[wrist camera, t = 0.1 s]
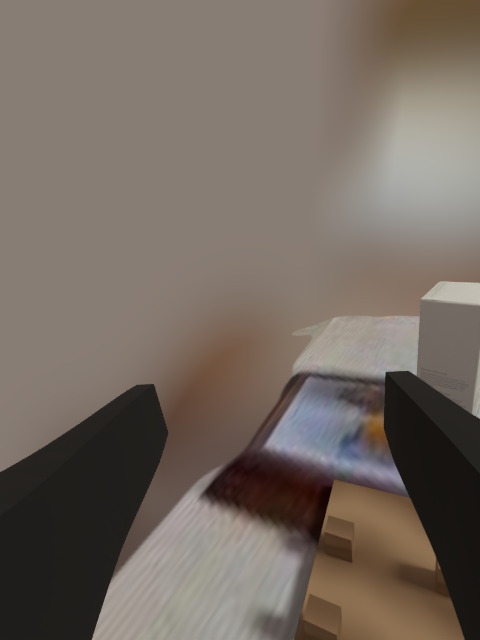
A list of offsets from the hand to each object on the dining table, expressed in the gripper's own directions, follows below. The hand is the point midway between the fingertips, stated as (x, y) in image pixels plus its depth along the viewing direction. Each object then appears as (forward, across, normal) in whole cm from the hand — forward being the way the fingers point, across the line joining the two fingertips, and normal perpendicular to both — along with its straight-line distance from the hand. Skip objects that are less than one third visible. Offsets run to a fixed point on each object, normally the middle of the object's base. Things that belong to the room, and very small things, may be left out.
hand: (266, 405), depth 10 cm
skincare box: (+29, -20, +24) cm, 43 cm away
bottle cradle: (+6, -6, +22) cm, 24 cm away
